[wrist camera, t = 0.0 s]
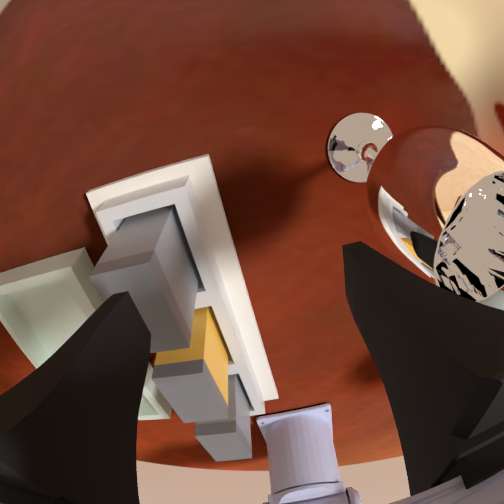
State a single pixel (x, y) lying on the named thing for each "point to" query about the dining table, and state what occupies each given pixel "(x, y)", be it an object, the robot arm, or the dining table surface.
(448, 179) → the wineglass
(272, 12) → the dining table surface
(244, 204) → the dining table surface
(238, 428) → the block
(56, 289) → the tray
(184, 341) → the block
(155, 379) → the block
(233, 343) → the fuse holder
